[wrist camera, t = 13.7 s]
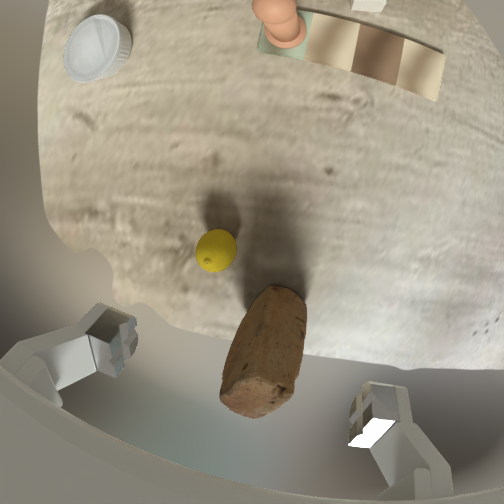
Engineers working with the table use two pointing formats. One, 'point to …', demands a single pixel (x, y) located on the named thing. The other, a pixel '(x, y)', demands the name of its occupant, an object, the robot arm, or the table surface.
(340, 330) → the table surface
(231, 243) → the lemon
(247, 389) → the block
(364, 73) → the board
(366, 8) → the die
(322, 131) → the table surface
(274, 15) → the round-topped peg
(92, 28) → the ramekin
